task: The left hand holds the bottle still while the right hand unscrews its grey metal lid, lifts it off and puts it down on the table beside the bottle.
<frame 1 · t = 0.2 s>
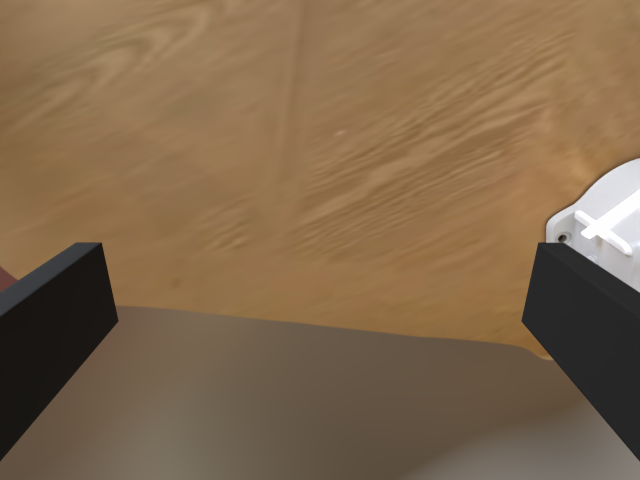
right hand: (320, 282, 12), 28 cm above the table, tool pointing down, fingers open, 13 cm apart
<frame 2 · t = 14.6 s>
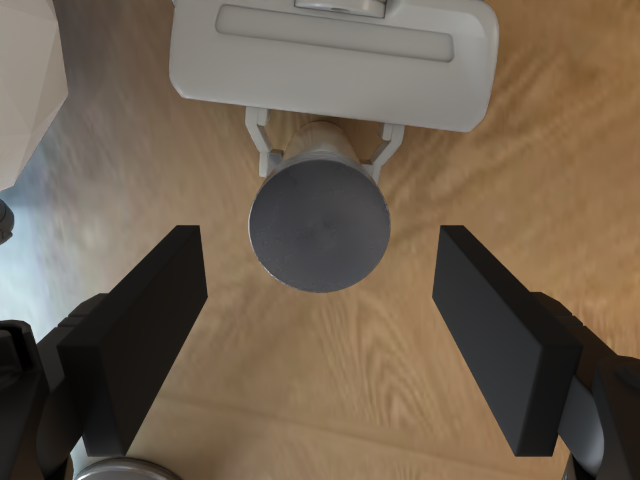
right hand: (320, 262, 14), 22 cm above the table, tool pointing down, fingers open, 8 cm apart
left hand: (318, 181, 29), fingers closed on bottle, 5 cm apart
lid: (319, 227, 17), point 19 cm above the table, screwed on, not yet turned
bottle: (319, 153, 34), on the table, touching left hand
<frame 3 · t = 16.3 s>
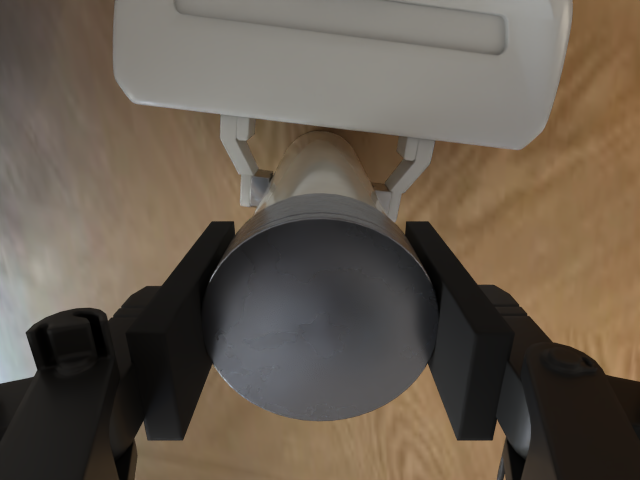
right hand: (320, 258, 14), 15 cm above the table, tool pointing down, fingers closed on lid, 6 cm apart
left hand: (319, 212, 22), fingers closed on bottle, 5 cm apart
lid: (320, 322, 10), point 19 cm above the table, screwed on, not yet turned, touching right hand
bottle: (320, 171, 28), on the table, touching left hand
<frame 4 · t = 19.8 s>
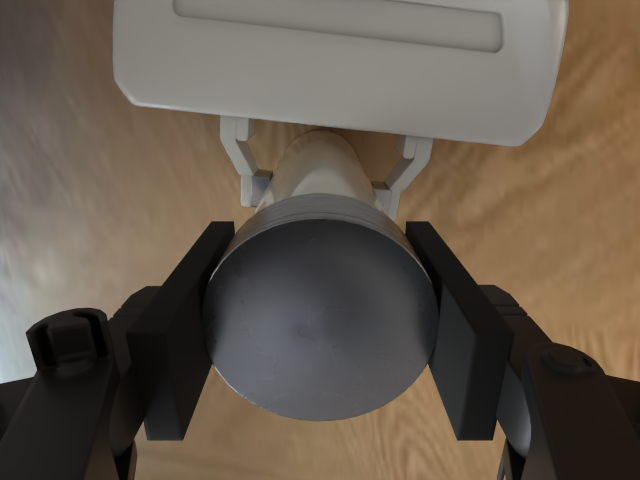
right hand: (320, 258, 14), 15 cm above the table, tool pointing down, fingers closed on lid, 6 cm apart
left hand: (319, 211, 22), fingers closed on bottle, 5 cm apart
lid: (319, 322, 10), point 19 cm above the table, turned 110° so far, risen 0.1 cm, still on its thread, touching right hand
bottle: (320, 170, 28), on the table, touching left hand
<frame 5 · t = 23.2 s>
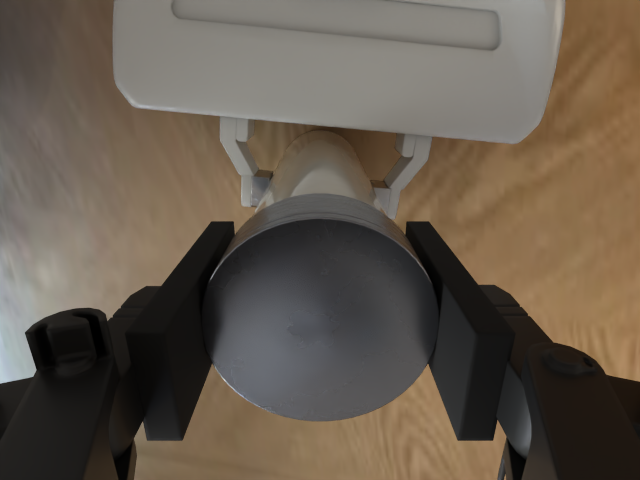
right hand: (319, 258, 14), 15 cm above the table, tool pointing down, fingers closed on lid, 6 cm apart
left hand: (319, 210, 22), fingers closed on bottle, 5 cm apart
lid: (320, 322, 10), point 19 cm above the table, turned 221° so far, risen 0.3 cm, still on its thread, touching right hand
bottle: (320, 170, 28), on the table, touching left hand
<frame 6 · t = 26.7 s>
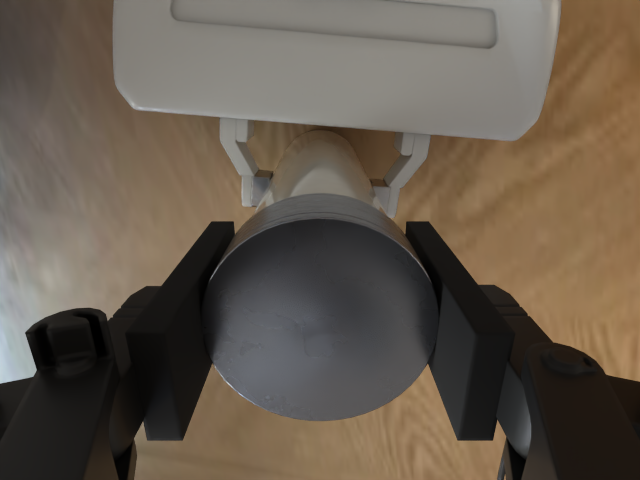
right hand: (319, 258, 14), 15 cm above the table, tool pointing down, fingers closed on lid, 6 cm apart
left hand: (319, 209, 22), fingers closed on bottle, 5 cm apart
lid: (320, 322, 10), point 19 cm above the table, turned 331° so far, risen 0.4 cm, still on its thread, touching right hand
bottle: (320, 170, 28), on the table, touching left hand
when the right hand's fingers open (0 cm above the table, at t = 37.0 s): lid drops 2 cm, point 2 cm above the table.
when the left hand's fingers open (7 cm above the table, at t = 37.7 s): bottle stays where it is, on the table.
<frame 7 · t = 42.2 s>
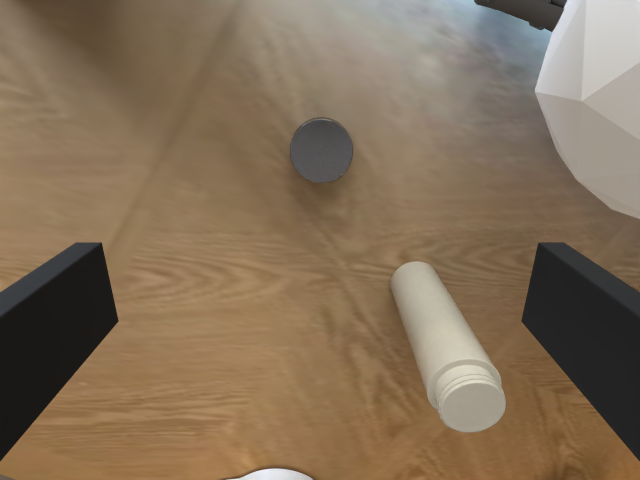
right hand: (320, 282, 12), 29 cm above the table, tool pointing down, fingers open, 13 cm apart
lid: (321, 151, 38), point 2 cm above the table, off its thread
sphere: (599, 52, 37), on the table
bottle: (414, 283, 45), on the table
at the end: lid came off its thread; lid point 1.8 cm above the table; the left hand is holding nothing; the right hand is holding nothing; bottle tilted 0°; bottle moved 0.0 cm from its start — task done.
